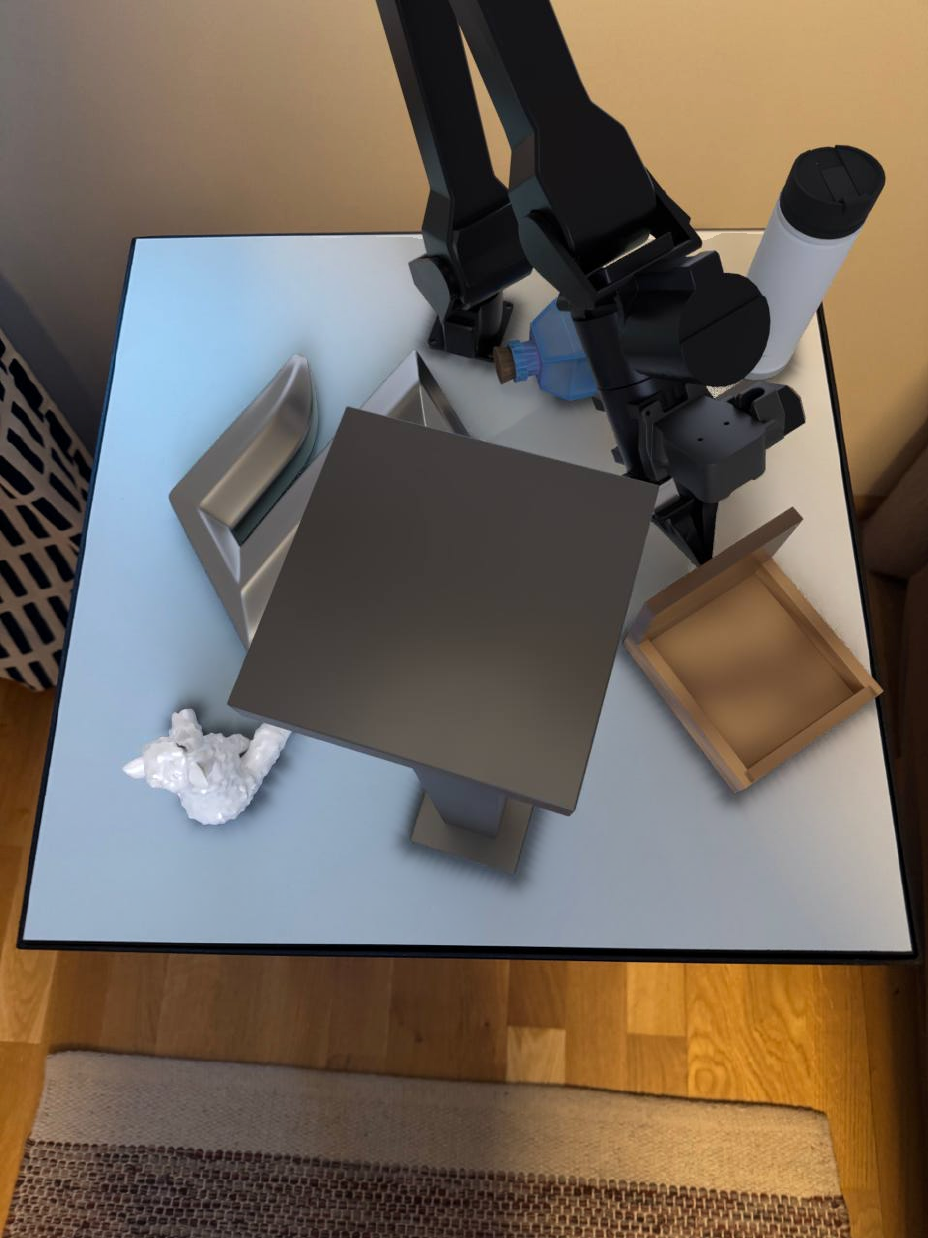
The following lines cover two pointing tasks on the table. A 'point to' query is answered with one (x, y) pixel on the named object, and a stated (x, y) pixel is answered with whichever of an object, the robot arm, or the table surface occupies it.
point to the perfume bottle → (548, 357)
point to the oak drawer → (747, 658)
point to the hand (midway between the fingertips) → (703, 565)
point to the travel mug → (810, 241)
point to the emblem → (278, 479)
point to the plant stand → (452, 622)
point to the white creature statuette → (209, 766)
